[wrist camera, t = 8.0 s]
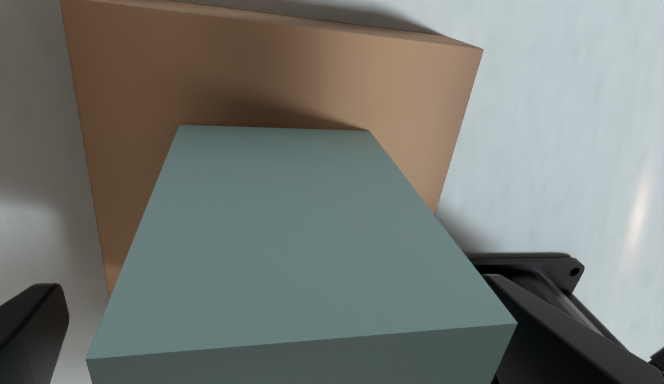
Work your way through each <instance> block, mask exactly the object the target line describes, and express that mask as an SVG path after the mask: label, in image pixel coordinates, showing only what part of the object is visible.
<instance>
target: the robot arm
mask: <svg viewBox="0 0 664 384" xmlns="http://www.w3.org/2000/svg"><path fill="white" fill-rule="evenodd" d="M469 260H470V262H471V263H472V264H473V266H474V267H475V268H476V270H477V271H478V272H479V273H480V275H481V276H482V277H483V279H484V280H485V281H486V283H487V284H488V285H489V286H490V288H491V289H492V290H493V292H494V293H495V294H496V296H497V297H498V298H499V299H500V301H501V302H502V303H503V305H504V306H505V307H506V309H507V310H508V311H509V312H510V314H511V315H512V316H513V318H514V319H515V320H516V322H517V323H518V324H517V326H516V328H515V330H514V333H513V335H512V337H511V339H510V342H509V344H508V346H507V348H506V350H505V353H504V355H503V357H502V359H501V362H500V364H499V366H498V368H497V371H496V373H495V375H494V377H493V379H492V382H491V384H664V347H663V348H662V349H660V350H659V351H657V352H656V353H655V354H653V355H652V356H650V358H651V359H652V360H651V361H649V362H648V363H647V362H646V361H644V360H642V359H641V358H639V357H637V356H636V355H634V354H632V353H631V352H629V351H628V350H627V349H626V348H625V347H624V346H623V345H622V344H621V343H620V342H619V341H618V340H617V338H616V337H615V336H614V335H613V334H612V333H611V332H610V331H609V330H608V329H607V328H606V327H605V326H604V325H603V324H602V323H601V322H600V321H599V320H598V319H597V318H596V317H595V316H594V315H593V314H592V313H591V312H590V311H589V310H588V309H587V308H586V307H585V306H584V305H583V304H582V303H581V302H580V301H579V300H578V299H577V298H576V297H575V296H574V295H573V294H572V292H573V290H574V289H575V287H576V285H577V283H578V281H579V279H580V277H581V276H582V274H583V272H584V269H585V268H584V265H583V264H581V263H580V262H579V261H578V260H577V259H576V258H515V259H469ZM68 324H69V312H68V308H67V304H66V300H65V296H64V292H63V289H62V287H61V285H59V284H57V283H40V284H34V285H32V286H30V287H29V288H27V289H26V290H24V291H23V292H21V293H19V294H18V295H16V296H15V297H13V298H12V299H10V300H9V301H7V302H6V303H4V304H2V305H1V306H0V384H50V382H51V379H52V376H53V373H54V369H55V366H56V363H57V360H58V357H59V354H60V350H61V347H62V344H63V341H64V338H65V335H66V331H67V328H68Z"/></svg>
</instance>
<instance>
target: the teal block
mask: <svg viewBox="0 0 664 384" xmlns="http://www.w3.org/2000/svg"><path fill="white" fill-rule="evenodd" d="M517 324H518V323H517V322H516V320H515V319H514V318H513V316H512V315H511V314H510V312H509V311H508V310H507V309H506V307H505V306H504V305H503V303H502V302H501V301H500V299H499V298H498V297H497V296H496V294H495V293H494V292H493V290H492V289H491V288H490V286H489V285H488V284H487V283H486V281H485V280H484V279H483V277H482V276H481V275H480V273H479V272H478V271H477V270H476V268H475V267H474V266H473V264H472V263H471V262H470V260H469V259H468V258H467V257H466V255H465V254H464V253H463V251H462V250H461V249H460V248H459V246H458V245H457V244H456V242H455V241H454V240H453V238H452V237H451V236H450V235H449V233H448V232H447V231H446V229H445V228H444V227H443V225H442V224H441V223H440V222H439V220H438V219H437V218H436V216H435V215H434V214H433V212H432V211H431V210H430V209H429V207H428V206H427V205H426V203H425V202H424V201H423V199H422V198H421V197H420V196H419V194H418V193H417V192H416V190H415V189H414V188H413V186H412V185H411V184H410V183H409V181H408V180H407V179H406V177H405V176H404V175H403V173H402V172H401V171H400V170H399V168H398V167H397V166H396V164H395V163H394V162H393V160H392V159H391V158H390V157H389V155H388V154H387V153H386V151H385V150H384V149H383V147H382V146H381V145H380V144H379V142H378V141H377V140H376V138H375V137H374V136H373V135H372V133H371V132H370V131H357V130H326V129H296V128H266V127H235V126H205V125H179V127H178V129H177V132H176V134H175V137H174V139H173V142H172V144H171V147H170V149H169V152H168V154H167V157H166V159H165V162H164V164H163V167H162V169H161V172H160V174H159V177H158V179H157V182H156V185H155V187H154V190H153V192H152V195H151V197H150V200H149V202H148V205H147V207H146V210H145V212H144V215H143V217H142V220H141V222H140V225H139V227H138V230H137V232H136V235H135V237H134V240H133V242H132V245H131V247H130V250H129V252H128V255H127V257H126V260H125V262H124V265H123V267H122V270H121V272H120V275H119V277H118V280H117V282H116V285H115V287H114V290H113V292H112V295H111V297H110V300H109V302H108V305H107V307H106V310H105V312H104V315H103V317H102V320H101V322H100V325H99V327H98V330H97V332H96V335H95V337H94V340H93V342H92V345H91V347H90V350H89V352H88V355H87V357H86V362H87V365H88V369H89V373H90V376H91V380H92V384H491V382H492V379H493V377H494V375H495V373H496V371H497V368H498V366H499V364H500V362H501V359H502V357H503V355H504V353H505V350H506V348H507V346H508V344H509V342H510V339H511V337H512V335H513V333H514V330H515V328H516V326H517Z"/></svg>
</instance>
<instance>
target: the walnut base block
mask: <svg viewBox="0 0 664 384" xmlns="http://www.w3.org/2000/svg"><path fill="white" fill-rule="evenodd" d="M60 3H61V9H62V15H63V21H64V27H65V33H66V39H67V45H68V51H69V57H70V63H71V69H72V75H73V81H74V87H75V93H76V99H77V105H78V111H79V117H80V123H81V129H82V135H83V141H84V147H85V153H86V159H87V165H88V171H89V177H90V183H91V189H92V195H93V201H94V207H95V213H96V219H97V225H98V231H99V237H100V243H101V249H102V255H103V261H104V267H105V273H106V279H107V285H108V291H109V297H111V295H112V292H113V290H114V287H115V285H116V282H117V280H118V277H119V275H120V272H121V270H122V267H123V265H124V262H125V260H126V257H127V255H128V252H129V250H130V247H131V245H132V242H133V240H134V237H135V235H136V232H137V230H138V227H139V225H140V222H141V220H142V217H143V215H144V212H145V210H146V207H147V205H148V202H149V200H150V197H151V195H152V192H153V190H154V187H155V185H156V182H157V179H158V177H159V174H160V172H161V169H162V167H163V164H164V162H165V159H166V157H167V154H168V152H169V149H170V147H171V144H172V142H173V139H174V137H175V134H176V132H177V129H178V127H179V125H205V126H235V127H266V128H296V129H326V130H357V131H370V132H371V133H372V135H373V136H374V137H375V138H376V140H377V141H378V142H379V144H380V145H381V146H382V147H383V149H384V150H385V151H386V153H387V154H388V155H389V157H390V158H391V159H392V160H393V162H394V163H395V164H396V166H397V167H398V168H399V170H400V171H401V172H402V173H403V175H404V176H405V177H406V179H407V180H408V181H409V183H410V184H411V185H412V186H413V188H414V189H415V190H416V192H417V193H418V194H419V196H420V197H421V198H422V199H423V201H424V202H425V203H426V205H427V206H428V207H429V209H430V210H431V211H432V212H433V214H434V215H435V212H436V209H437V205H438V202H439V199H440V195H441V192H442V188H443V185H444V182H445V178H446V175H447V172H448V168H449V165H450V161H451V158H452V155H453V151H454V148H455V145H456V141H457V138H458V134H459V131H460V128H461V124H462V121H463V118H464V114H465V111H466V107H467V104H468V101H469V97H470V94H471V91H472V87H473V84H474V80H475V77H476V74H477V70H478V67H479V64H480V60H481V57H482V53H483V50H484V49H481V48H479V47H476V46H473V45H470V44H467V43H464V42H461V41H458V40H456V39H453V38H450V37H447V36H441V35H433V34H426V33H418V32H410V31H402V30H395V29H387V28H379V27H371V26H364V25H356V24H348V23H340V22H332V21H325V20H317V19H309V18H301V17H294V16H286V15H278V14H270V13H262V12H255V11H247V10H239V9H231V8H224V7H216V6H208V5H200V4H192V3H185V2H177V1H169V0H60Z"/></svg>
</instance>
